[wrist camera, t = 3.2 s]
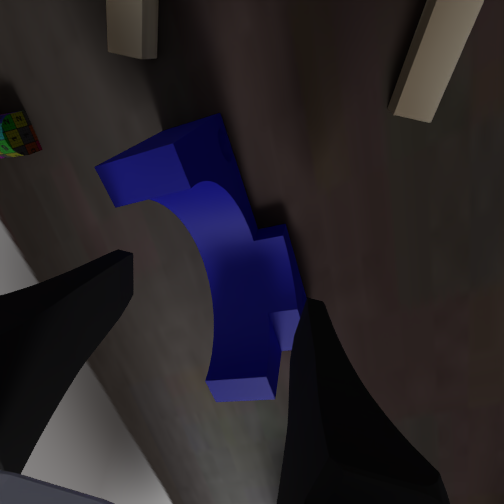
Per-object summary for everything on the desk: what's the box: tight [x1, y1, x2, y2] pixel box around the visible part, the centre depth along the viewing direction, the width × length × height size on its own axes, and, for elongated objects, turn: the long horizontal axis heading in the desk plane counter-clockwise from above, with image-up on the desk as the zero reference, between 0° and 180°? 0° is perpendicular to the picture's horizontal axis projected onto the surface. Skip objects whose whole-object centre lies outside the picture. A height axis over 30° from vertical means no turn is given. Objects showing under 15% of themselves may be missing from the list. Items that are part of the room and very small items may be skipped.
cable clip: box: [95, 113, 307, 402], centre depth 16 cm, size 12×4×6 cm, turn 17°
